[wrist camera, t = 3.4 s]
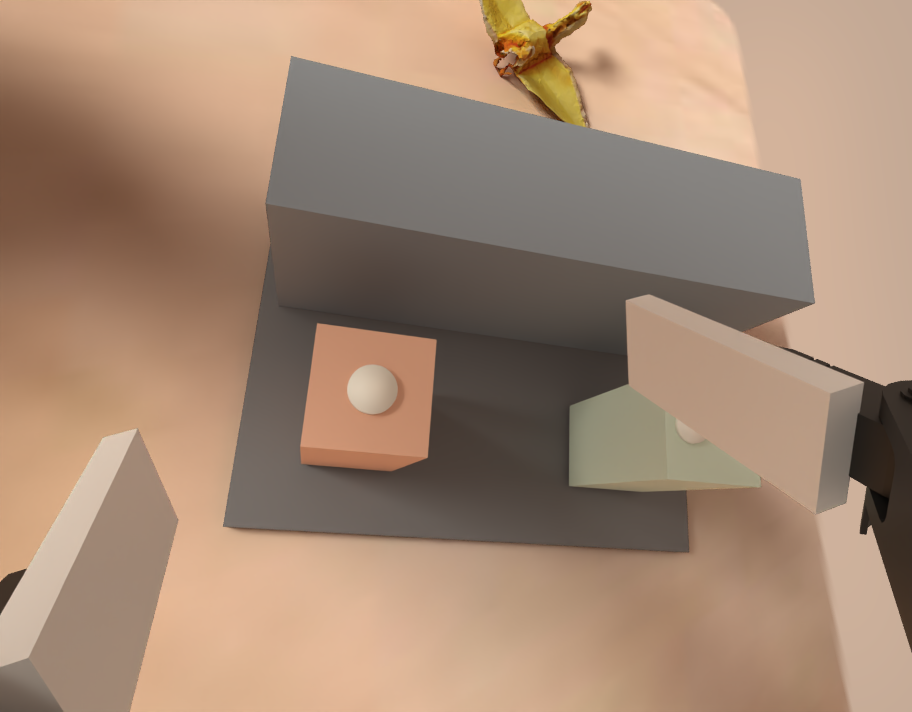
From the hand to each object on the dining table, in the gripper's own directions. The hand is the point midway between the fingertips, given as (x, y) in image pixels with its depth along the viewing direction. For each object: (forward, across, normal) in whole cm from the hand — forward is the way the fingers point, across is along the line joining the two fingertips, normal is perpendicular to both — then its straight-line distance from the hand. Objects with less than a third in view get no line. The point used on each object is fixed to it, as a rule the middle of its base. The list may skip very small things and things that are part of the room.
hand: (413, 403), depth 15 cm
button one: (+16, -2, -8) cm, 18 cm away
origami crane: (+32, +17, +9) cm, 37 cm away
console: (+18, +7, -9) cm, 21 cm away
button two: (+14, +13, -14) cm, 24 cm away
